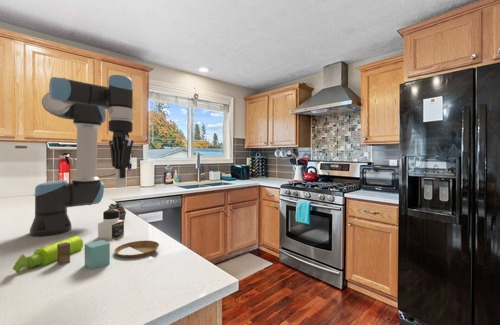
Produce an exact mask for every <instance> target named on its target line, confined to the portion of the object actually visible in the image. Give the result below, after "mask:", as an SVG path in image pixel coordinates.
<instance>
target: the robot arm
mask: <svg viewBox="0 0 500 325" xmlns="http://www.w3.org/2000/svg"><path fill="white" fill-rule="evenodd" d="M48 84H49V85H48V86H49V87H48V92H46V93H45V94H44V95H43V97H42V99H41V105H42V107H43V109H45V111H46V112H48V113H49V114H51V115H53V116H55V117H58V118H60V119H66V120H73V121H72V124H73V125H74V126H75V127H76V160H75V161H76V164H75V168H76V170H75V171H76V173H75V174H76V175H75V176H74V177H72V180H71V182H70V183H68V182H67V180H66V179H65V180H53V181H47V182H43V183H40V184H37V185H36V186H35V188H34V189H35V190H34V218H33V221H32V223H31V225H30V228H29V236H32V237H45V236H47V237H48V236H54V235H58V234H59V235H60V234H63V233H66V232H69V231H71V230H72V223H71V219H70V218H69V214H68V208H73V207H83V206H92V205H97V204H99V203H101V201H102V199H103V197H104V192H105V187H104V185H105V184H104V182H103V181H101V178H100V177H98V175H97V172H98V170H97V169H98V168H97V166H98V135H99V134H98V133H99V131H98V130H99V128H101V127H102V123H105V121H106V117H107V116H106V115H107V113H106V110H107V112H108V119H109V120H108V131H109V132H111V133H113V134H112V140H109V141H108V144H109V148H110V157H111V166H112V168H114V169H115V188H118V189H119V188H126V187H127V186H126V185H127V184H126V183H127V182H126V174H127V173H126V170H127V169H128V168H130V164H131V157H132V156H131V155H132V147H133V144H134V140H133V139H130V134H131V133H133V130H134V129H133V126H134V125H133V122H132V121H134V120H133V117H134V116H133V115H134V114H133V113H134V112H133V104H134V103H133V99H134V98H133V95H134V93H133V92H134V88H133V87H134V86H133V80H132V79H131V77H129V76H126V75H121V74H111V75H110V76H109V77H108V81H107V84H108V86H104V85H99V84H92V83H87V82H82V81H79V80H73V79H70V78H69V79H68V78H65V77H56V76H53V77H51V78H50V79H49V83H48ZM129 133H130V134H129Z"/></svg>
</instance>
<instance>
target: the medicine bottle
mask: <svg viewBox="0 0 500 325" xmlns="http://www.w3.org/2000/svg"><path fill="white" fill-rule="evenodd" d="M102 213H103V214H102V215H103V216H102V219H103V220H102V221H101V222H98V223H97V224H98V225H97V238H99V239H100V238H101V239H112V240H113V241H115V240H116V239H120V238H122V237H125V220H118V219H119V211H118V210H108V209H107V210H105V211H103V212H102Z"/></svg>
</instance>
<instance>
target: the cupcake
mask: <svg viewBox="0 0 500 325" xmlns="http://www.w3.org/2000/svg"><path fill="white" fill-rule="evenodd" d="M107 210H118V211H119V219H118V220H124V221H125V219H126V214H127V211H126V209H125V207H124V206H123V204H121V203H118V202H116V203H110V205H108V209H107Z"/></svg>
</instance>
